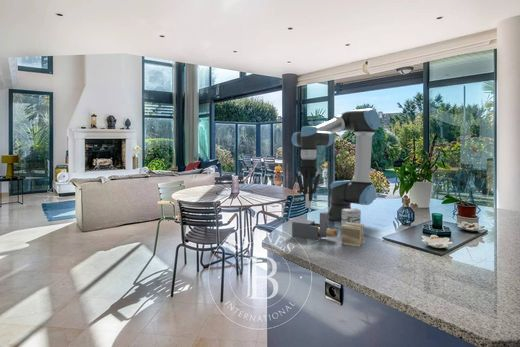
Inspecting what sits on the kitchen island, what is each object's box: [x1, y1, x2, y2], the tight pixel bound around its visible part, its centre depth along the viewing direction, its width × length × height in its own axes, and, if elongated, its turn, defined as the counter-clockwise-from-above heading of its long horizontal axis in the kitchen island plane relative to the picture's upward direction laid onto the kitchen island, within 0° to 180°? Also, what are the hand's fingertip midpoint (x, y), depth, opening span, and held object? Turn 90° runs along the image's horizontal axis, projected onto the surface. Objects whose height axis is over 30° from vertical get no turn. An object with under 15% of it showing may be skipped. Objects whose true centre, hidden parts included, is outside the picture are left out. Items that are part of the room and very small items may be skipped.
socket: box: [341, 222, 365, 248], centre depth 152 cm, size 8×8×8 cm
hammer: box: [318, 210, 339, 239], centre depth 160 cm, size 4×18×12 cm, turn 61°
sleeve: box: [291, 218, 322, 241], centre depth 163 cm, size 7×13×8 cm, turn 61°
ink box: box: [340, 208, 362, 232], centre depth 171 cm, size 9×5×12 cm, turn 103°
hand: (307, 207), depth 161 cm, fingers closed
